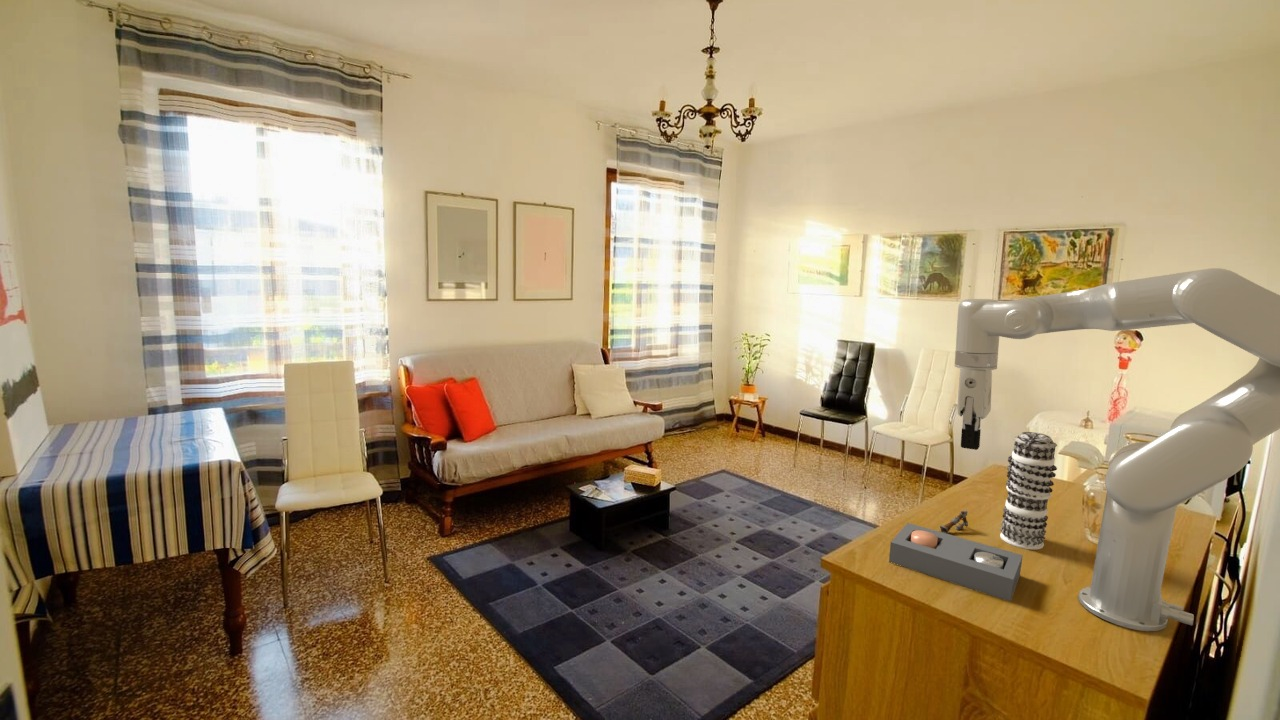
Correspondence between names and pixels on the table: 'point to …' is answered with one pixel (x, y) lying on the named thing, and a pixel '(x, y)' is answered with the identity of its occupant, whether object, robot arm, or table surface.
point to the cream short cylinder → (989, 559)
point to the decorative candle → (1028, 490)
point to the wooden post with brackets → (955, 521)
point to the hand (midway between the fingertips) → (969, 447)
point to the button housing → (957, 562)
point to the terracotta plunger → (924, 538)
